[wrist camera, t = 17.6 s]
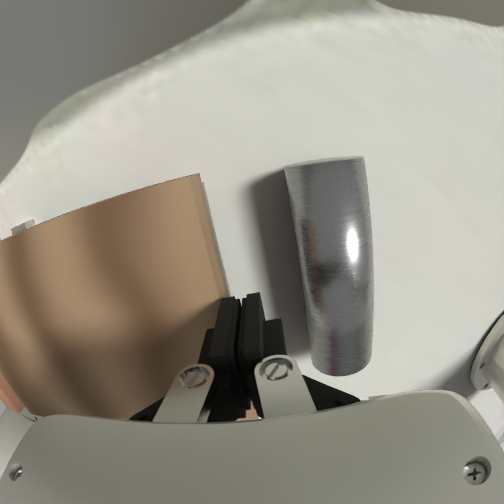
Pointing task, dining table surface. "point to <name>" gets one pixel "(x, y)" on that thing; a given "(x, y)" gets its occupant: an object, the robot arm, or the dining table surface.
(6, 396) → the bar
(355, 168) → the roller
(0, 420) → the travel mug
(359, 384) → the dining table surface
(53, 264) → the slab
